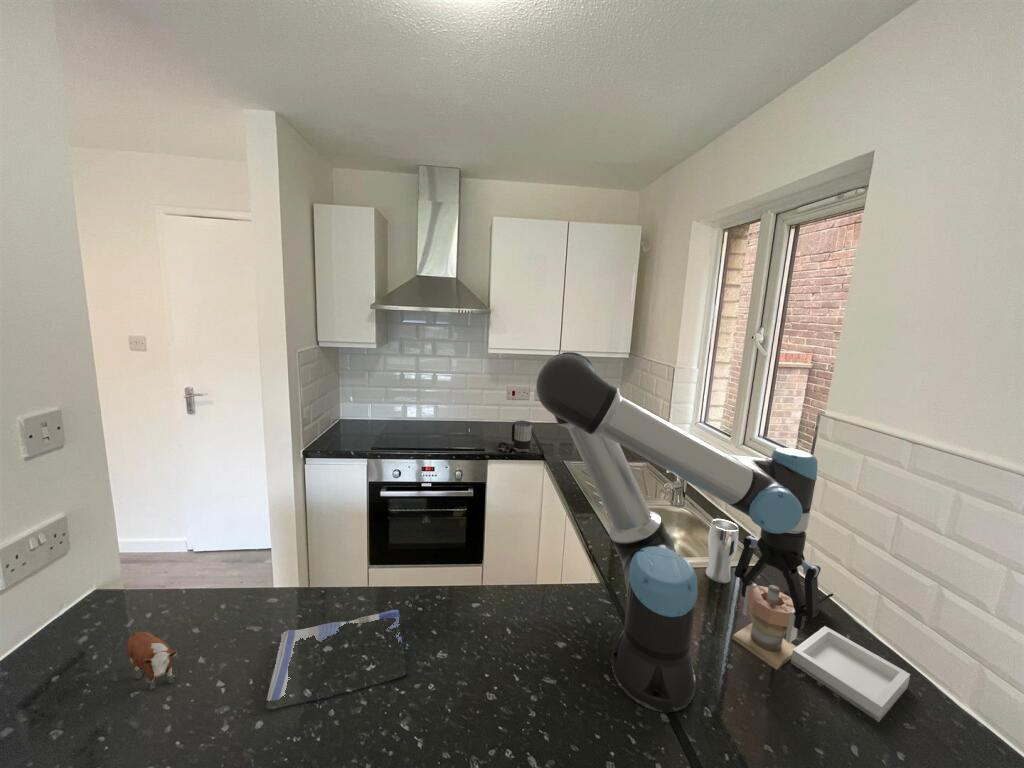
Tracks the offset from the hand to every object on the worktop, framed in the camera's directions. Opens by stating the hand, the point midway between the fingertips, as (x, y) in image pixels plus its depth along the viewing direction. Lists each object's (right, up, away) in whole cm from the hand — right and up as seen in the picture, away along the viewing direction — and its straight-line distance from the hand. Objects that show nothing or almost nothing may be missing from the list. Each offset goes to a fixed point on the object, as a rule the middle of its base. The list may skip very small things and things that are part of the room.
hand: (768, 625), depth 86 cm
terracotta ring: (0, +3, 0) cm, 3 cm away
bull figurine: (-118, -2, -14) cm, 118 cm away
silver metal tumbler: (+2, -2, +24) cm, 25 cm away
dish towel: (-87, -3, -7) cm, 88 cm away
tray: (+12, -6, -6) cm, 15 cm away
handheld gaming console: (+16, -4, +13) cm, 21 cm away
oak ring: (0, 0, 0) cm, 0 cm away
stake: (0, -5, +1) cm, 5 cm away
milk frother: (-53, +16, +124) cm, 136 cm away
